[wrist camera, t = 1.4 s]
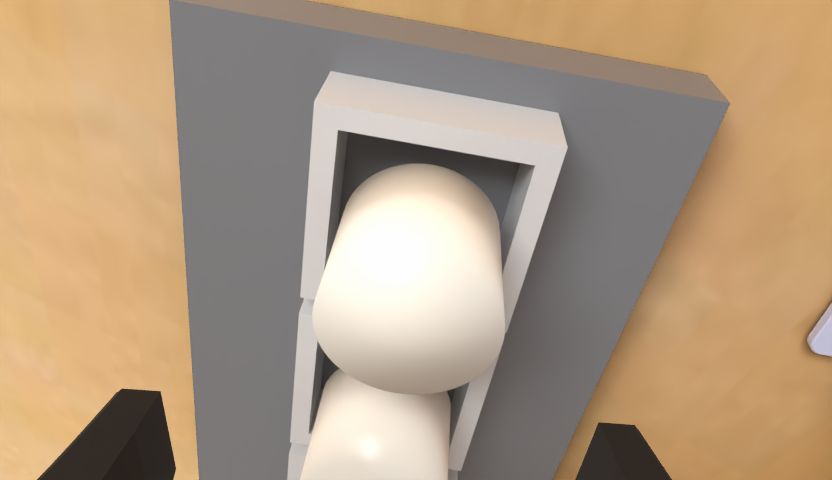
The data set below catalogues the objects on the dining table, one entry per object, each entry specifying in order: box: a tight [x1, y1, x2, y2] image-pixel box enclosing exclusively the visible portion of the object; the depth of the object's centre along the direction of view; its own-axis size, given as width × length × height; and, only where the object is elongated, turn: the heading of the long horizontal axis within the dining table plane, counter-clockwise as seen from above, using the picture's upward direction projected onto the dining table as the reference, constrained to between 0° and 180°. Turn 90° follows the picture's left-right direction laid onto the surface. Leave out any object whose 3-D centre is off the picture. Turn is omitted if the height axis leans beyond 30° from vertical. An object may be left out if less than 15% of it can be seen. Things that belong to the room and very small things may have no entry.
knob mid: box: [300, 368, 451, 480], centre depth 18 cm, size 4×4×4 cm
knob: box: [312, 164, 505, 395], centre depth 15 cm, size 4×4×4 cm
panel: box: [169, 0, 730, 480], centre depth 22 cm, size 14×21×4 cm, turn 170°
